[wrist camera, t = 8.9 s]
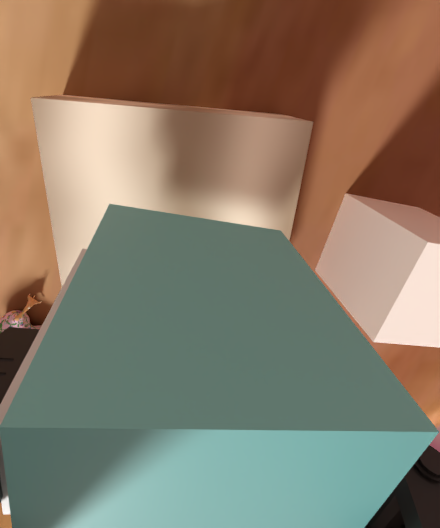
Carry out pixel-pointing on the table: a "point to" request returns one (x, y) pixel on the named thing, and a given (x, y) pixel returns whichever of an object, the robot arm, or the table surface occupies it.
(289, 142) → the birch base
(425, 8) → the table surface
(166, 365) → the teal block
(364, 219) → the off-white block
